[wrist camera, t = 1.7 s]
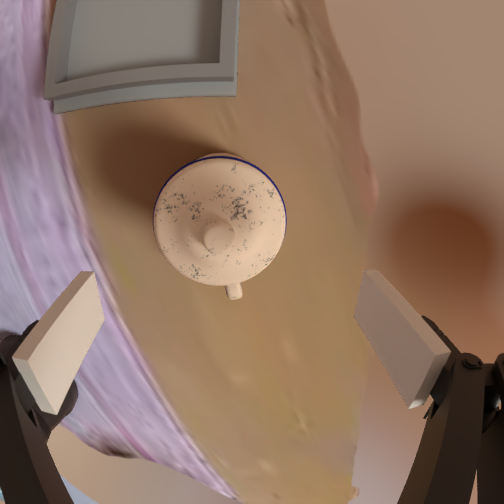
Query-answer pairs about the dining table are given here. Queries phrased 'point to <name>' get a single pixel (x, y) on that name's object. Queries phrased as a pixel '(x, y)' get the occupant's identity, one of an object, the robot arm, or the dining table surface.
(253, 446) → the dining table surface
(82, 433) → the dining table surface
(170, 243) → the teacup with lid
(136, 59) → the grey shallow square tray
